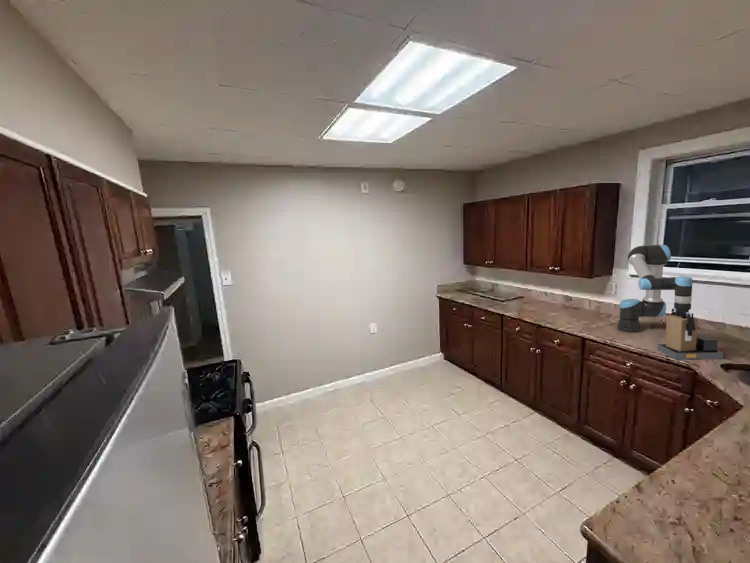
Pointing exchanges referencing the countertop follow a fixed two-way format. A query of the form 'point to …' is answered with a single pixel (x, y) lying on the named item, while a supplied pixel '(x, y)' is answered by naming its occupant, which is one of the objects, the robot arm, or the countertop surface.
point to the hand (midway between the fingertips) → (680, 337)
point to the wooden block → (679, 334)
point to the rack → (704, 350)
